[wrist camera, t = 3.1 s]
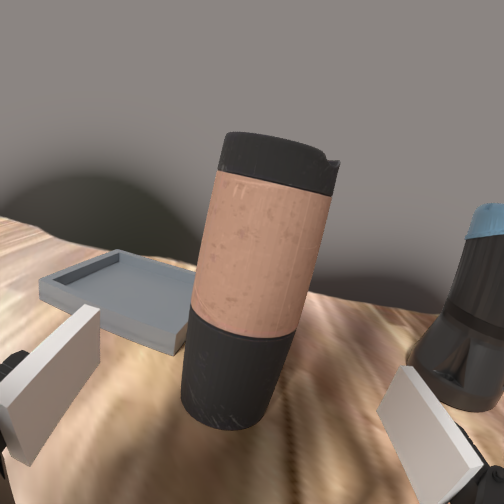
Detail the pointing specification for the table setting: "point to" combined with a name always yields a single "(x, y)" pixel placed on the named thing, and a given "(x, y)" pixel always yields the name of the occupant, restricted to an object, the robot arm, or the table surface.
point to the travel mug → (253, 274)
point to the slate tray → (127, 297)
